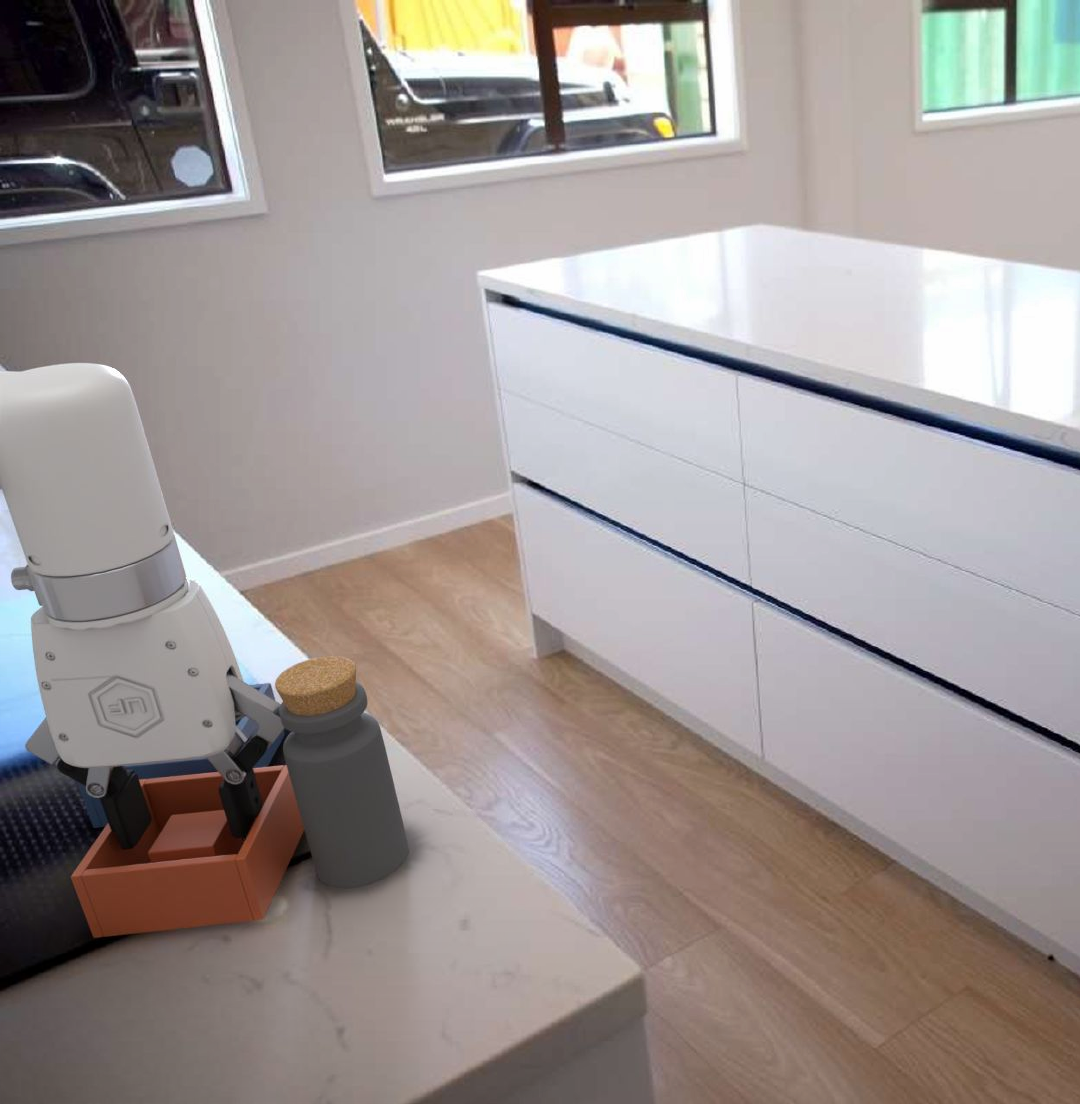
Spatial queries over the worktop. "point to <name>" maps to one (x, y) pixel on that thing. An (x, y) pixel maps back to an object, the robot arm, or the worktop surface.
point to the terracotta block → (195, 837)
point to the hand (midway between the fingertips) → (191, 828)
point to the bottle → (340, 774)
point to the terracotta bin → (190, 862)
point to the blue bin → (182, 764)
